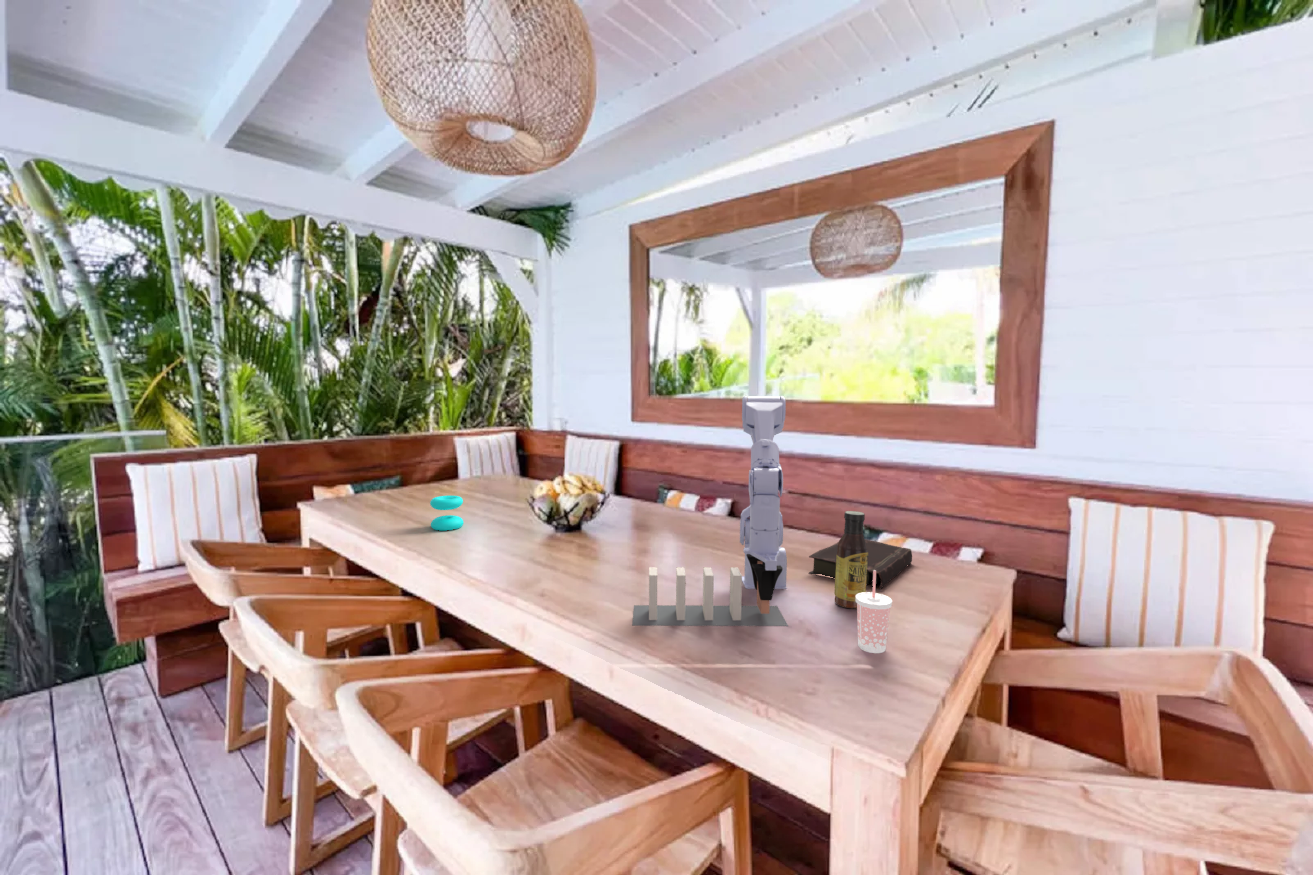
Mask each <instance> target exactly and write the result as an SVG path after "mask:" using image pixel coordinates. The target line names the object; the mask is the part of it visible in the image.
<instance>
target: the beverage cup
mask: <svg viewBox="0 0 1313 875" xmlns="http://www.w3.org/2000/svg"><path fill="white" fill-rule="evenodd" d="M872 582H873V587H872V590H871V592H870V591H866V592H862V593H858V594H857V595H855V597H856V603H857V608H856V612H857V613H856V614H857V618H856V620H857V646H858V648H860V650H862V651H864V652H867V653H870V654H871V653H873V654H881V653H885V652H886V647H887V640H888V639H887V637H888V631H889V621H890V620H889V619H890V612H891V608H892V606H893V600H892V598H891V597H890V596H888V595H885V594H883V593H878V592H876V584H877V583H876V570H873V581H872Z"/></svg>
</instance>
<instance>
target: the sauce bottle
mask: <svg viewBox="0 0 1313 875" xmlns="http://www.w3.org/2000/svg"><path fill="white" fill-rule="evenodd" d="M843 516H844V517H843V518H844V529H843V532H844V533H843V534H842V536H841V537H840V539H839V540H838V541H837V542H838V551H837V559H836V576H835V579H834V592H833V593H834V603H835V604H836V605H838V606H840V607H842V608H847V609H857V603H856V597H855V595H857V594H858V593H862V592H867V590H866V589H867V585H866V577H867V561H868V551H867V548H866V544H865V540H866V539H865V536H864V522H865V518H866V515H865V513H864V512H862V511H855V510H846V511H844V515H843ZM864 539H865V540H864Z"/></svg>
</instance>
